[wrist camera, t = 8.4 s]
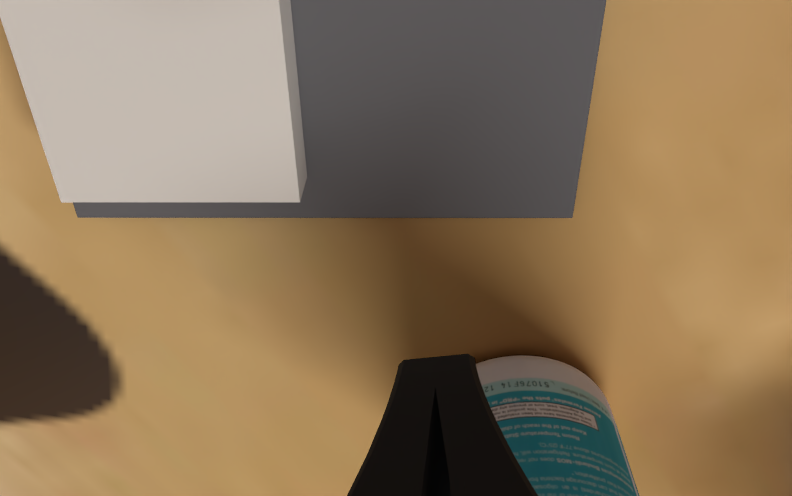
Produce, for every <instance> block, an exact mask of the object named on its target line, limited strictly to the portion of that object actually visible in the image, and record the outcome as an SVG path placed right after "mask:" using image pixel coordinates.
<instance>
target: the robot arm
mask: <svg viewBox="0 0 792 496" xmlns="http://www.w3.org/2000/svg"><path fill="white" fill-rule="evenodd" d="M347 496H538V494H537V493H536V491H535V490H534V488H533V487H532V485H531V483H530V482H529V480H528V478H527V477H526V475H525V473H524V472H523V470H522V468H521V466H520V465H519V463H518V461H517V459H516V458H515V456H514V454H513V452H512V450H511V449H510V447H509V445H508V443H507V441H506V439H505V437H504V435H503V433H502V431H501V429H500V427H499V425H498V423H497V421H496V419H495V417H494V414H493V412H492V410H491V408H490V405H489V403H488V400H487V398H486V396H485V393H484V390H483V388H482V385H481V382H480V379H479V376H478V372H477V368H476V363H475V358H474V357H472V356H471V355H469V354H461V355H451V356H441V357H430V358H420V359H410V360H403V361H402V362H401V363H400V364H399V366H398V371H397V375H396V379H395V382H394V386H393V389H392V392H391V395H390V398H389V401H388V404H387V407H386V410H385V412H384V415H383V418H382V420H381V423H380V425H379V428H378V430H377V432H376V435H375V437H374V440H373V442H372V445H371V447H370V449H369V452H368V454H367V456H366V458H365V460H364V462H363V464H362V466H361V468H360V471H359V473H358V475H357V477H356V479H355V481H354V483H353V485H352V487H351V489H350V491H349V493H348V495H347Z"/></svg>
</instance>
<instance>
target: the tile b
mask: <svg viewBox="0 0 792 496" xmlns="http://www.w3.org/2000/svg"><path fill="white" fill-rule="evenodd" d="M0 18H1V21H2V24H3V27H4V30H5V33H6V36H7V39H8V42H9V45H10V48H11V51H12V54H13V57H14V60H15V63H16V66H17V69H18V72H19V75H20V79H21V82H22V85H23V88H24V91H25V94H26V97H27V100H28V103H29V106H30V109H31V112H32V115H33V118H34V121H35V124H36V127H37V130H38V133H39V136H40V139H41V142H42V145H43V148H44V151H45V154H46V157H47V160H48V164H49V167H50V170H51V173H52V176H53V179H54V182H55V185H56V188H57V191H58V194H59V197H60V200H61V202H300V200H301V197H302V193H303V190H304V186H305V183H306V179H307V169H306V159H305V148H304V138H303V127H302V117H301V106H300V96H299V85H298V74H297V64H296V53H295V43H294V32H293V22H292V11H291V1H290V0H0Z"/></svg>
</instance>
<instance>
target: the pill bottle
mask: <svg viewBox="0 0 792 496" xmlns="http://www.w3.org/2000/svg"><path fill="white" fill-rule="evenodd" d="M476 368H477V372H478V376H479V379H480V382H481V385H482V388H483V390H484V393H485V396H486V398H487V400H488V403H489V405H490V408H491V410H492V412H493V414H494V417H495V419H496V421H497V423H498V425H499V427H500V429H501V431H502V433H503V435H504V437H505V439H506V441H507V443H508V445H509V447H510V449H511V450H512V452H513V454H514V456H515V458H516V459H517V461H518V463H519V465H520V466H521V468H522V470H523V472H524V473H525V475H526V477H527V478H528V480H529V482H530V483H531V485H532V487H533V488H534V490H535V491H536V493H537V494H538V496H639V493H638V490H637V487H636V484H635V481H634V478H633V475H632V472H631V469H630V466H629V462H628V459H627V456H626V453H625V450H624V447H623V444H622V441H621V438H620V435H619V432H618V429H617V426H616V423H615V420H614V417H613V414H612V411H611V409H610V406H609V403H608V401H607V399H606V397H605V396H604V394H603V392H602V391H601V389H600V388H599V387H598V386H597V385H596V384H595V383H594V382H593V381H592V380H591V379H590V378H589V377H588V376H587V375H585V374H584V373H582V372H581V371H579V370H578V369H576V368H574V367H572V366H570V365H568V364H566V363H563V362H560V361H557V360H554V359H550V358H545V357H539V356H525V355H517V356H506V357H499V358H494V359H490V360H486V361H483V362H480V363H477V364H476Z"/></svg>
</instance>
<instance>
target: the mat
mask: <svg viewBox="0 0 792 496" xmlns="http://www.w3.org/2000/svg"><path fill="white" fill-rule="evenodd" d="M290 1H291V11H292V22H293V32H294V43H295V53H296V64H297V74H298V85H299V96H300V106H301V117H302V127H303V138H304V148H305V159H306V169H307V179H306V183H305V186H304V190H303V193H302V197H301V200H300V202H73V204H74V207H75V211H76V214H77V217H105V218H572V217H573V211H574V204H575V198H576V191H577V185H578V178H579V172H580V166H581V159H582V153H583V146H584V140H585V134H586V127H587V121H588V114H589V108H590V101H591V95H592V89H593V82H594V76H595V69H596V63H597V56H598V50H599V44H600V37H601V31H602V24H603V18H604V12H605V5H606V0H290Z"/></svg>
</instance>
